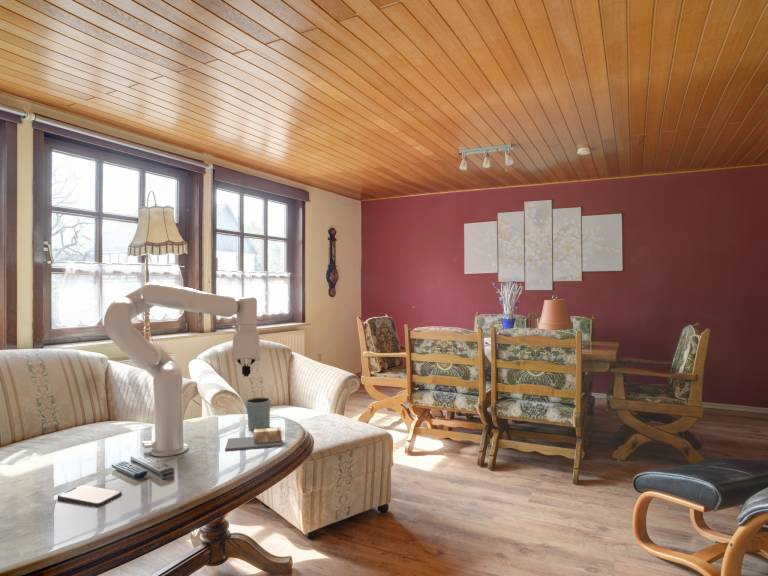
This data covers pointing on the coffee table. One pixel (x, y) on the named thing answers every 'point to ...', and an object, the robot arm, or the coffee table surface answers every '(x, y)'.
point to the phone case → (89, 495)
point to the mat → (248, 443)
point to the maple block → (267, 435)
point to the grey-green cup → (258, 413)
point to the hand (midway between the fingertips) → (246, 376)
